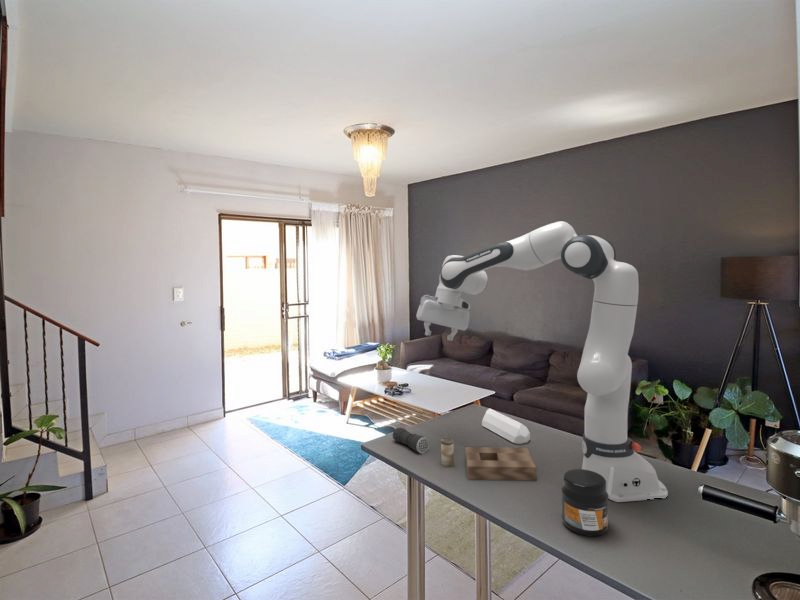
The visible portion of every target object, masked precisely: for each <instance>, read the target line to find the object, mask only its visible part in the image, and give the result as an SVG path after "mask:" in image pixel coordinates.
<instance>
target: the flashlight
mask: <svg viewBox="0 0 800 600" xmlns="http://www.w3.org/2000/svg"><path fill="white" fill-rule="evenodd" d="M392 437H393V439H394V441H396V442H398V443H400V444H404V445H407V446H408V447H409V448H411V449H412V450H414V452H417V453H419V454H424V453H426V452H428V450H429V448H430V440H429V439H428V438H427V437H425V436H423V435H419V434H416V433H412V432H410V431H408V430H407V429H406V428H403V427H396V428H394V430H393V432H392Z"/></svg>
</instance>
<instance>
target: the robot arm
mask: <svg viewBox="0 0 800 600" xmlns="http://www.w3.org/2000/svg"><path fill="white" fill-rule="evenodd" d="M616 259H617V251H616V249H615V247H614V245H613V243H612V242H610V241H609V240H607V239H606V238H602V237H599V236H597V235H592V234H591V235H590V234H589V235H587V234H580V235H578V234H577V232H576V231H575V229H574V227H573V226H572V225H571V224H569V223H568V222H567V221H562V220H560V221H554V222H552V223H548V224H546V225H544V226H541V227H538V228H536V229H534V230H532V231H530V232H528V233H525V234H523V235H521V236H518V237H515V238H513V239H510V240H507V241H503V242H500V243H496V244H494V245H491V246H488V247H486V248H483V249H481V250H478V251H476V252H474V253H473V252H472V253H471V254H468V255H465V256H463V255H460V254H449V255H448V256H446V257H445V259H444V260H443V263H442V265H441V269H440V272H439V276H438V277H439V282H438V286H437V288H436V291H435V295H433V296H432V295H429V294H425V295H423V296H421V298H420V300H419V301H420V302H419V306H418V308H417V311H416V315H415V316H416V319H417V320H418V321H422V322H423V326H424V330H425V332H424V335H425V336H429V337H431V335H432V331H431V330H430V326H431V324H435V325H439V326H444V327H447V328H451V333H450V334H447V336H446V340H447V341H449V342H450V341H451V342H453V341H454V337H455V336H456V334H458V332H459V331H458V330H460V331H467V329H468V328H469V322H470V315H471V314H470V312H469V311H470V310H471V304H470V303H469V302H468V301H466V300H465V299H463V298H462V297H461V295H462V293H466V294H469V295H472V296H473V295H474V296H476V295H480V294H482V293H483V292H484V291H485V290H486V288H487V287H488V284H489V283H488V282H489V277H488V274H487V272H486V270H488V269H492V268H496V267H500V268H501V267H505V268H510V269H516V270H521V271H530V270H535V269H538V268H541V267H543V266H546V265H548V264H551V263H552V262H555V261H558V260H561V262H562V264H563V266H564V267H565V268H566V269H567V270H569V271H570V272H571V273H573V274H576V275H577V276H580V277H583V278H585V279H587V280H592V281H593V285H594V288H593V289H594V292H593V298H592V299H593V300H592V307H591V315H590V322H589V327H588V332H587V336H586V339H585V342H584V345H583V350H582V355H581V358H580V363H579V367H578V369H577V373H576V377H577V382H578V384H579V386H580V387H581V388H582V390H583V391H585V392H586V393H587V394H586V401H585V405H584V433H583V434H582V447H581V448H582V453H583V456H582V457H583V459H582V465H581V469H585V470H590V471H593V472H596V473H598V474H600V475H601V476H603V477H604V478H605V480H606V491H607V493H608V496H609V499H608V500H611V501H613V502H615V503H625V502H635V501H636V502H637V501H648V500H647V499H650V500H655V499H654V498H662V499H667V498H668V497H667V496H669V492H668V489H667V487H666V486H665V484H664V483H663V482H662V481H661V480H659V479H658V475H657V472H656V470H655V468H654V466H653V465H652V464H651V463H650V462H648V461H647V460H646V459H645V458H644V457H643V456H642V455H640V454H638V453H641V451H642V449H643V448H642V446H641V445H640V444H639V443H637V442H635V441H634V440H633V439H632V438H630V437H628V413H629V411H628V410H629V404H630V393H631V383H632V373H633V369H632V368H633V363H632V359H631V357H630V356H629V351H630V346H631V342H632V339H633V336H634V331H635V324H636V319H637V311H638V309H637V308H638V303H639V290H640V288H639V287H640V284H639V282H640V281H639V272H638V270H637V269H636V267H634V266H633V265H632V264H629V263H627V262H622V261H618V260H616ZM666 497H667V498H666Z"/></svg>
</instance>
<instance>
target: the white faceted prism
mask: <svg viewBox="0 0 800 600" xmlns="http://www.w3.org/2000/svg"><path fill="white" fill-rule="evenodd" d="M481 426H482V427H484V428H486V429H488V430H490V431H492V432H493V433H495V434H497V435H499V436H501V437H502V438H504V439H506V440H508V441H509V442H511V443H513V444H515V445H523V444H526V443H528V442H529V440H530V441H531V433H530V430H529V429H528V427H527V426H526V425H524V424H523V423H521V422H519V421H517V420H515V419H514V418H511V417H509V416H507V415H504V414H502V413H500V412H498V411H496V410H494V409H492V408H490V407H489V408H488V409H487V410H486V411H485V414H484V415H483V418H482V421H481Z"/></svg>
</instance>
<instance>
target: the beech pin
mask: <svg viewBox="0 0 800 600" xmlns="http://www.w3.org/2000/svg"><path fill="white" fill-rule="evenodd" d="M454 452H455V451H454V439H453V438H451V437H443V438H441V439H440V456H441V461H440V462H441V466H442V467H446V468H450V467H453V466H454V463H455V460H454V459H455V458H454V456H455V455H454Z"/></svg>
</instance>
